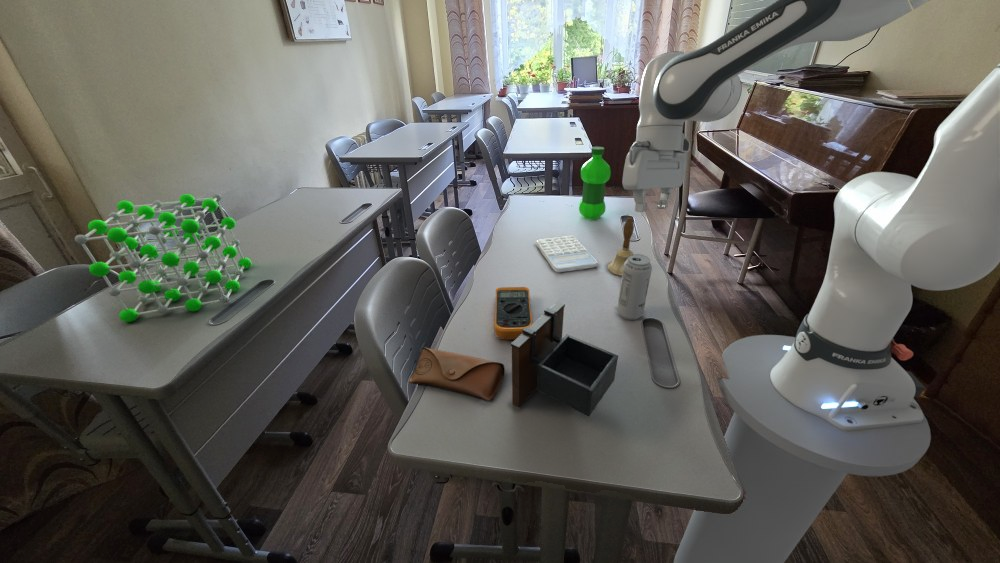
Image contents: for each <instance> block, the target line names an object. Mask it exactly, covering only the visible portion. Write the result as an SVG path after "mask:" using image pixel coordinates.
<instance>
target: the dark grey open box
mask: <svg viewBox="0 0 1000 563" xmlns="http://www.w3.org/2000/svg"><path fill="white" fill-rule="evenodd" d="M544 313H547V314H549V315H552V316H553V317H552V331H551V342H557V343H558V344H557V345H556V346H555V347H554V348H553V349H552V350H551V351H550V352H549V353H548V355H547V356H546V357H545V358H544V359H543V360H542V359H540V358H538V357H535V347H536V334H535V331H533V330H531V329H529V328H527V327H525V328H524V329H523V330H522V332H523V333H526V334H528V335H530V336H531V359H530V363H533V362H534V363H536V364H538V366H537V389H536V391H539V392H540V393H542V394H544V395H545V396H548V397H550V398H552V399H553V400H555V401H557V402H559V403H561V404H563V405H564V406H567V407H569V408H571V409H572V410H574V411H576V412H578V413H580V414H581V415H584V416H586V417H588V418H589V417H590V416H591V414H593V412H594V410H595V409H596V407H597V406H598V405H599V403H600V402H601V400H602V399H603V397H604V396H605V394H606V393H607V391H608V390H609V389H610V387H611V386H612V384H613V383H614V382H615V378H616V371H617V366H618V361H619V360H618V359H619V355H617V354H615V353H613V352H611V351H608V350H606V349H604V348H601V347H599V346H596V345H594V344H592V343H589V342H587V341H584V340H582V339H579V338H577V337H576V336H575V337H574V336H572V335H570V334H567V333H566V334H565V335H564V337H562V338H559V337H557V336H556V318H557V314H556V311H554V310H551V309H550V307H549V308H548V307H546V308H545V309H544V310H543V314H544Z"/></svg>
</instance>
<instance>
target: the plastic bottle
mask: <svg viewBox="0 0 1000 563" xmlns="http://www.w3.org/2000/svg"><path fill="white" fill-rule="evenodd" d="M590 151H591V152H590V153H591V155H592V156H591V158H590V159H588V160H587V161H586V162H584V163H583V164H582V166H581V168H580V178H581V180H582V181H583V185H582V186H583V187H582V196H581V197H582V198H581V200H580V202H579V203H578V211H579V213H580V215H581V216H582V217H583V218H584V219H586V220H590V221H594V220H597V219H599V218H600V217H602V216H603V215H604V214H605V212H606V203H605V193H606V183H607V182H608V181H609V180H610V178H611V175H612V174H611V173H612V171H611V167H610V164H608V162H607V161H606V160H604V158H603V155H604V154H605V147H603V146H592V147H591V150H590Z"/></svg>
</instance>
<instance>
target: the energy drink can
mask: <svg viewBox="0 0 1000 563" xmlns="http://www.w3.org/2000/svg"><path fill="white" fill-rule="evenodd" d="M652 270H653V266H652V264H651V258H650V257H648V256H647V255H644V254H638V253H633V255H630V256H629V257H628V259H627V261H626V262H625V263H624V268H623V274H622V276H621V282H620V287H619V294H618V299H617V300H618V302H617V308H616V311H617V313H618V314H619V315H618V316H620V317H621V318H622V319H624V320H628V321H636V320H638V319H640V318H641V317H642V316H643V315H644V312H645V311H644V310H645V305H646V300H647V295H648V290H649V287H650V286H649V285H650V280H651V275H652V272H653V271H652Z"/></svg>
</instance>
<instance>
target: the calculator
mask: <svg viewBox="0 0 1000 563" xmlns="http://www.w3.org/2000/svg"><path fill="white" fill-rule="evenodd" d="M535 245H536V246H537V248H538V249H539V251H540V252H541V254H542V255H543V257H544V258H545V259H546V261H547V262H548V264H549V265H550V267H551V268H552V269H553V271H554V272H555V273H565V272H572V271H578V270H579V271H580V270H585V269H592V268H597V267H598V265H599V262H598V260H597V259H596V258H595V257H594V256H593V254H591V252H589V250H588V249H587V248H586V247H585V246H584V245H583V244H582V242H580V240H578V238H576V236H574V235H564V236H563V235H562V236H556V237H549V238H540V239H537V240H536V241H535Z"/></svg>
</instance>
